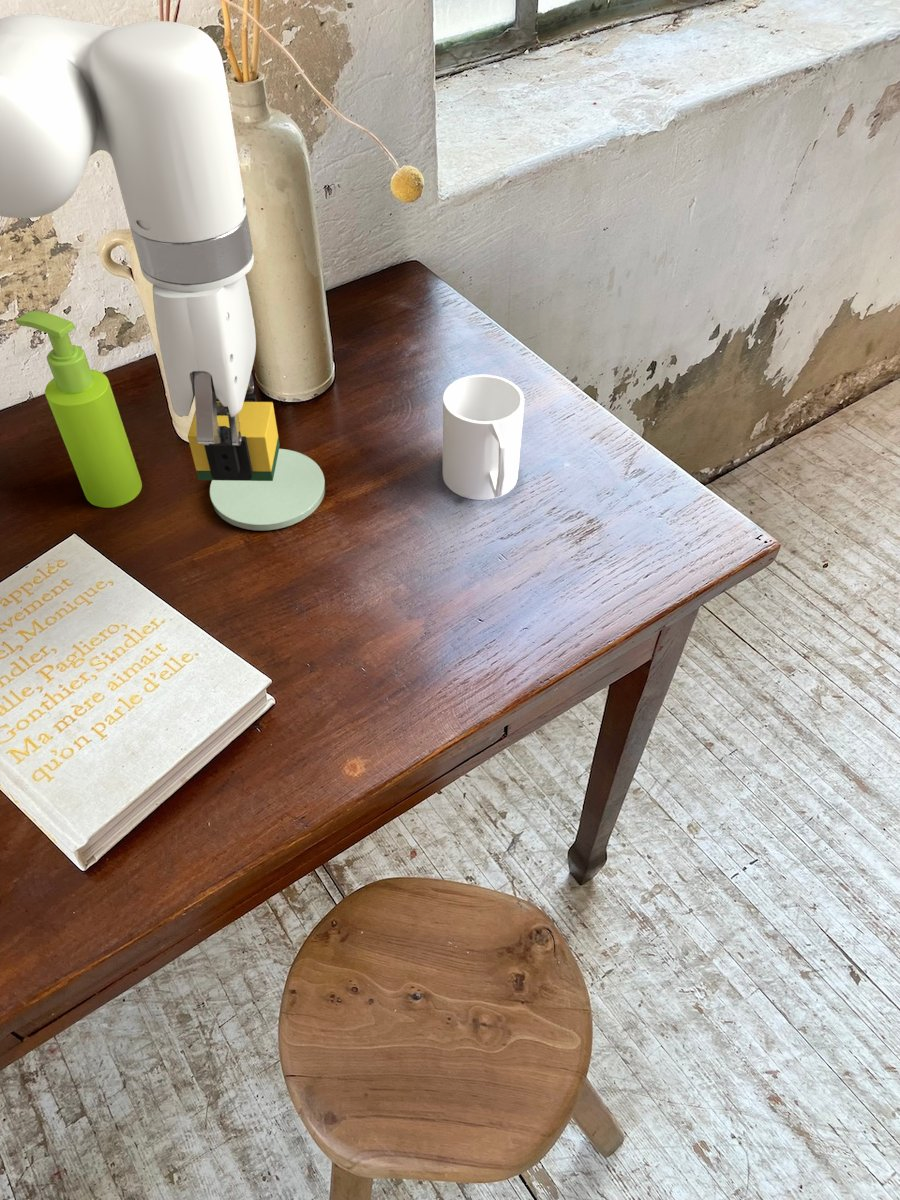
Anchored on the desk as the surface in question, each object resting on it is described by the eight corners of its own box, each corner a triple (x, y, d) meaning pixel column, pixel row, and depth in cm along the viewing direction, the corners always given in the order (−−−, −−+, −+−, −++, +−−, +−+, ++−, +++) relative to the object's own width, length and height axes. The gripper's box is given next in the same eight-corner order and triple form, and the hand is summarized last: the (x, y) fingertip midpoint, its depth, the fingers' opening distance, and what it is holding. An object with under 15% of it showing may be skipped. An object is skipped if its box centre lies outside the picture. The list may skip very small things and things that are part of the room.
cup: (460, 529, 93) (462, 453, 85) (435, 455, 100) (435, 379, 93) (537, 518, 94) (545, 441, 86) (506, 445, 101) (512, 370, 94)
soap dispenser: (102, 462, 99) (42, 295, 84) (153, 481, 97) (101, 314, 82) (65, 494, 95) (-5, 326, 80) (117, 514, 93) (56, 346, 78)
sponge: (198, 480, 73) (187, 436, 69) (208, 444, 76) (197, 400, 72) (273, 481, 73) (265, 437, 69) (280, 445, 76) (272, 401, 72)
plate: (203, 533, 92) (200, 524, 91) (220, 456, 100) (218, 448, 99) (321, 532, 92) (320, 524, 91) (329, 456, 100) (328, 447, 99)
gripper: (163, 185, 66) (210, 393, 79) (105, 311, 54) (171, 528, 68) (267, 186, 66) (295, 394, 79) (230, 312, 54) (270, 529, 68)
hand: (237, 454), depth 74 cm, fingers closed on sponge, 4 cm apart
